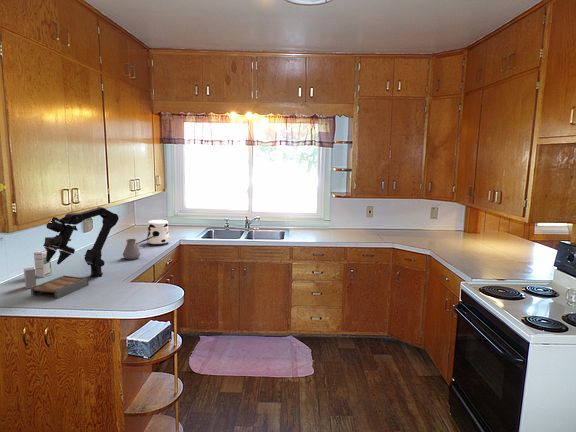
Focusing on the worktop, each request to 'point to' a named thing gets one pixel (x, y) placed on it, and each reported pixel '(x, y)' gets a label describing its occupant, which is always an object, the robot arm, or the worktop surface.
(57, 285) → the trapdoor
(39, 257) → the syrup box
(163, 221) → the milk container
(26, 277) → the stone
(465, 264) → the worktop surface
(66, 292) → the frame
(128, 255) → the coffee pot
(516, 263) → the worktop surface
